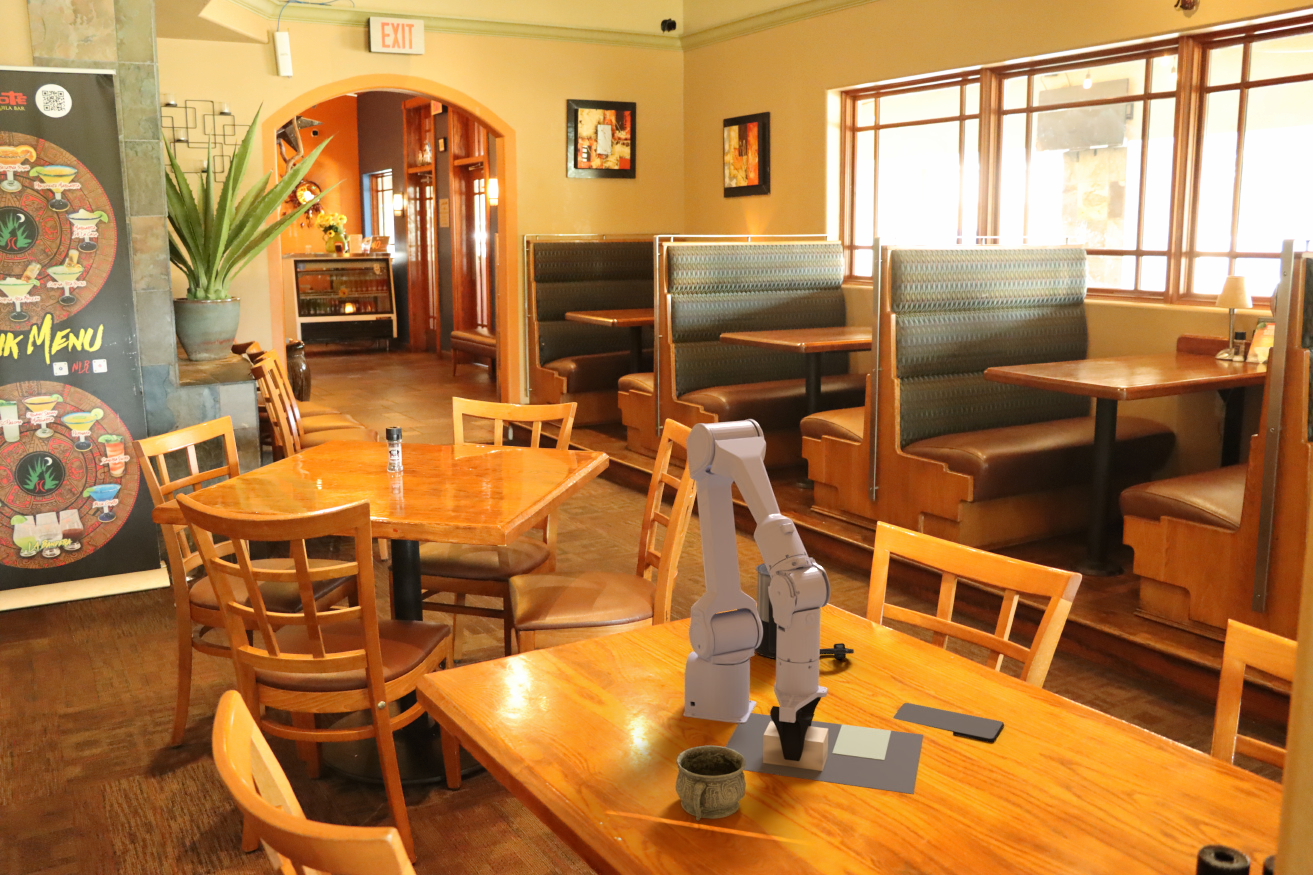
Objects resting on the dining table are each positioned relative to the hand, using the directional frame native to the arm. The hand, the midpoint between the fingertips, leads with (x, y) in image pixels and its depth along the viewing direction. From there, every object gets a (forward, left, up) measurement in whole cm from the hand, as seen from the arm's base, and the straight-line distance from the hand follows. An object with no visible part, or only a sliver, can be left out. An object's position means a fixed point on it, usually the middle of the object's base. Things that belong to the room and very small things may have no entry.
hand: (795, 750), depth 148 cm
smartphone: (+19, +19, -2) cm, 27 cm away
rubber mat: (+3, +4, -2) cm, 5 cm away
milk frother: (-6, +40, -2) cm, 40 cm away
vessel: (-8, -15, -2) cm, 17 cm away
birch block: (0, 0, -1) cm, 1 cm away
